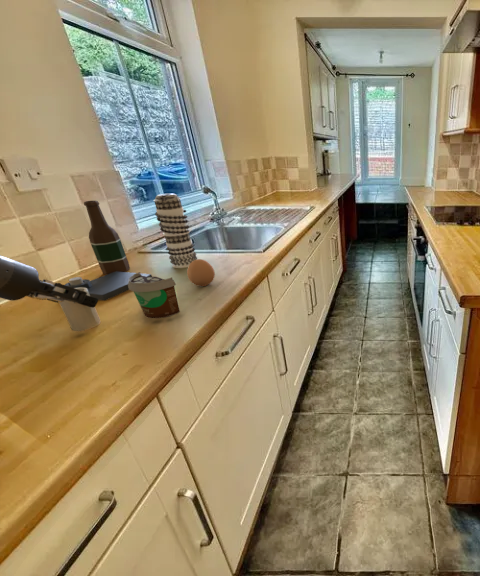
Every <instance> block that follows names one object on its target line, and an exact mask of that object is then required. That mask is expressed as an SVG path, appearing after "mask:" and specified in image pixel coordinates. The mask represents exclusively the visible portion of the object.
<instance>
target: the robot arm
mask: <svg viewBox="0 0 480 576" xmlns="http://www.w3.org/2000/svg"><path fill="white" fill-rule="evenodd" d="M39 274H40V273H39V272H38V269H36V267H34V266H31V265H28V264H25V263H23V262H20V261H17V260H14V259H11V258H9V257H6V256H3V255H1V254H0V299H4V300H7V301H11V302H12V301H19V300H22V299H23V298H26V297H27V298H31V299H34V300H39V301H44V300H45V301H49V302H52V303H56V304H59V302H64V301H69V302H73V303H78V304H81V305H85V306H88V307H95V308H96V306H97V304H98V302H99V300H98V299H97V298H94V297H91V296H88V295H86V294H87V293H86V292H85V291H80V290H77V289H74V288H71V287H68V286H65V284H63V283H61V282H54V281H52V280H48V279H40V278H39V276H40V275H39ZM74 294H75V296H74V298H73V295H74ZM56 297H60V298H56ZM58 301H59V302H58Z"/></svg>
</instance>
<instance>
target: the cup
mask: <svg viewBox="0 0 480 576" xmlns="http://www.w3.org/2000/svg"><path fill="white" fill-rule="evenodd" d="M74 289H77V290H80V291H85V292H86V293H87V294H86V295H88V296H90V294H89V292H88V290H87V288H82V287H81V288H74ZM74 296H75V294H74V295H73V298H74ZM56 298H60V297H56ZM58 302H59V301H58ZM58 305H59V306H60V309H61V311H62V312H63V315H64V317H65V319H66V321H67V323H68V325H69V328H70V329H71V331H72V332H84V331H87V330H90V329H93V328H95V327H97V326H99V325H100V324H101V323H102V320H101V318H100V315H99V313H98V310H97V308H96V306H95V307H88V306H85V305H81V304H78V303H73V302H69V301H64V302H59V303H58Z"/></svg>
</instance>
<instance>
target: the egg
mask: <svg viewBox="0 0 480 576" xmlns="http://www.w3.org/2000/svg"><path fill="white" fill-rule="evenodd" d="M186 274H187V278H188V281H189V282H190V283H191V284H193V285H195V286H197V287H206V286H209V285H210V284H212V282H213V281H214V279H215V277H216V274H215V269H214V267H213V266H212V265H211V263H210V262H209V261H207V260H205V259H201V258H197V260H194V261H192V262H191V263H190V265H189V267H187V270H186Z"/></svg>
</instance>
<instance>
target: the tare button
mask: <svg viewBox="0 0 480 576" xmlns="http://www.w3.org/2000/svg"><path fill="white" fill-rule="evenodd" d="M69 282H70V284H71V285H79V284H82V283H84V282H83V278H82V276H75V277H72V278H71V277H70V278H69V279H68V283H69Z"/></svg>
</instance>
